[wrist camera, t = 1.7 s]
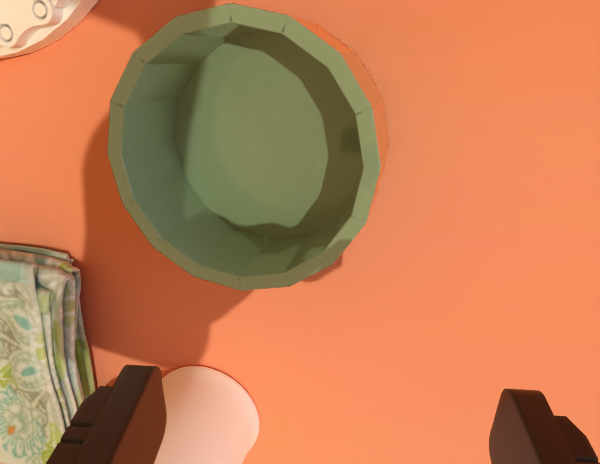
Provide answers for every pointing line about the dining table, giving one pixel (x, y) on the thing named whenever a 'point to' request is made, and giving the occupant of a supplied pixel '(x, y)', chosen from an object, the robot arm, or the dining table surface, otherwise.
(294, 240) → the bowl
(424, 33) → the dining table surface
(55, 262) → the towel
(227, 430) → the mug
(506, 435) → the robot arm
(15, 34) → the medallion
